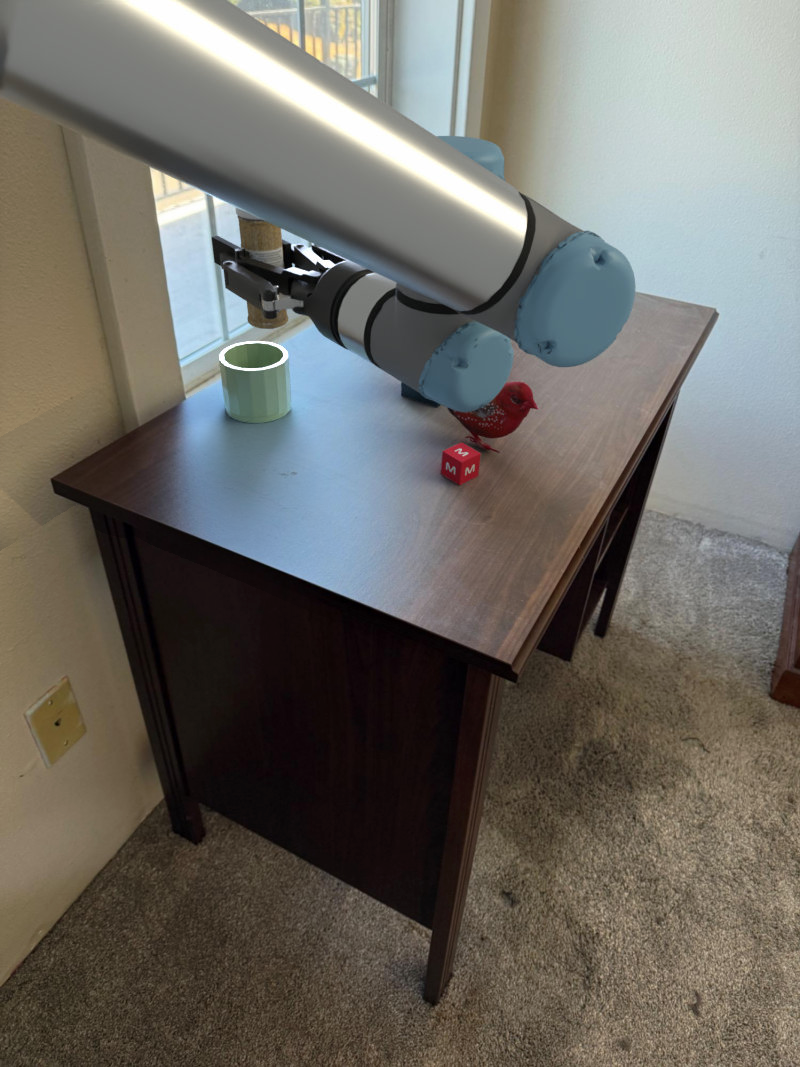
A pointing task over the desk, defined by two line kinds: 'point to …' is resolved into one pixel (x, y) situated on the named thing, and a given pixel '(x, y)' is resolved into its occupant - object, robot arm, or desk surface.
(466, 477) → the red letter m cube
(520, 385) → the decorative bird figurine
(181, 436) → the desk surface
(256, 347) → the holder
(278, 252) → the sprinkles bottle
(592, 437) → the desk surface
